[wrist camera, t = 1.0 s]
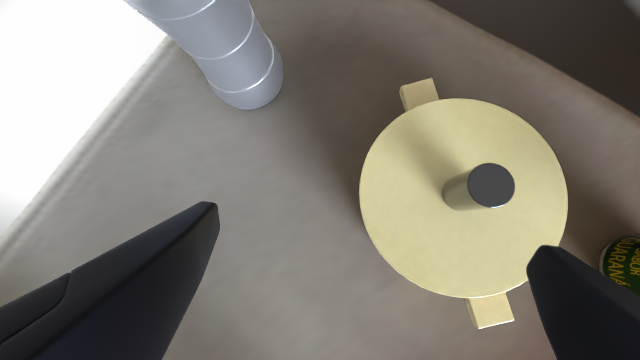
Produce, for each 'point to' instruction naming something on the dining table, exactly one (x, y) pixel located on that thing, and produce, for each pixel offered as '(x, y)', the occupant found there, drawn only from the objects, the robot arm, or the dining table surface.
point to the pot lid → (462, 197)
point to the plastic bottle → (222, 46)
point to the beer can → (623, 262)
